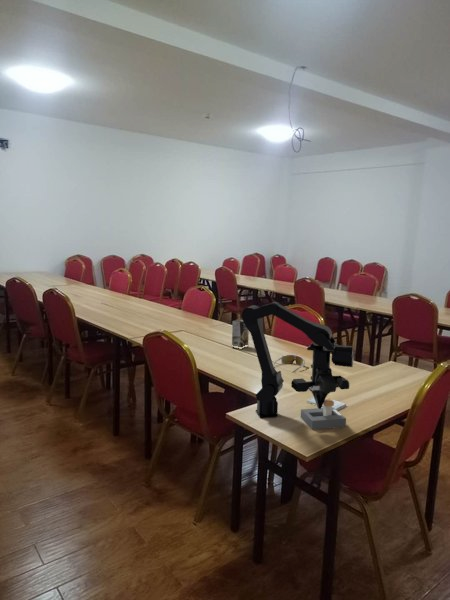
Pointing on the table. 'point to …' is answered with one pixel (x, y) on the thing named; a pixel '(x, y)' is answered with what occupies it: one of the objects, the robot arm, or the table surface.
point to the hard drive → (336, 406)
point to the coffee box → (239, 333)
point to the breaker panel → (322, 419)
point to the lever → (327, 407)
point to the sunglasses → (292, 360)
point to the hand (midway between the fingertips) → (319, 408)
